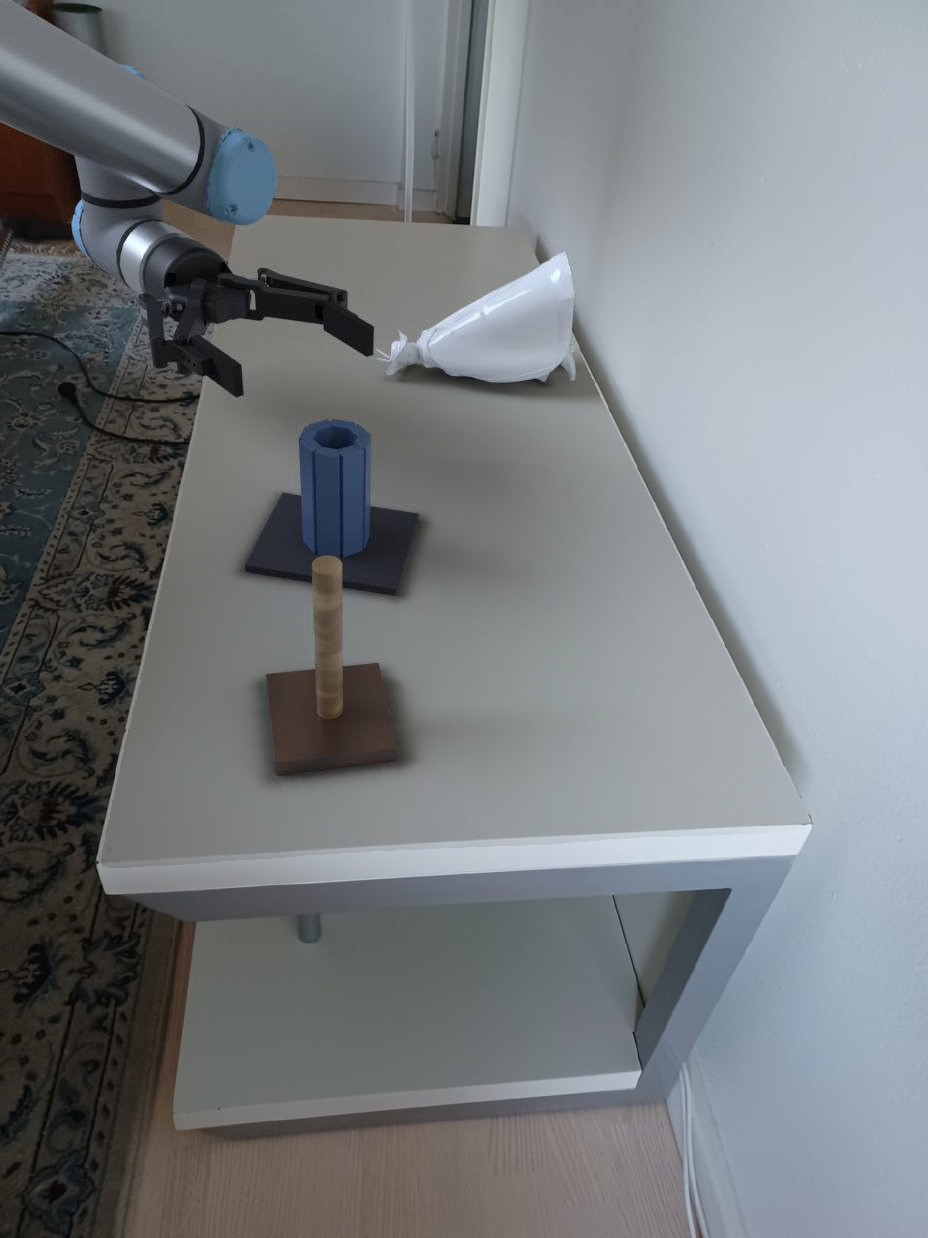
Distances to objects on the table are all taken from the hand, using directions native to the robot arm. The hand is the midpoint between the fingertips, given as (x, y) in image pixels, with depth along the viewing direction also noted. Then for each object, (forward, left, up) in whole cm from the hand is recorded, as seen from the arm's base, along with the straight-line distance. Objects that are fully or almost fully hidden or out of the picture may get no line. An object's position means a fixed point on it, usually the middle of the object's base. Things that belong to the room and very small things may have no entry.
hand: (308, 360), depth 77 cm
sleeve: (+3, -2, -17) cm, 17 cm away
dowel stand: (+8, -24, -17) cm, 31 cm away
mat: (+3, -2, -17) cm, 18 cm away
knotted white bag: (+11, +38, -18) cm, 43 cm away
